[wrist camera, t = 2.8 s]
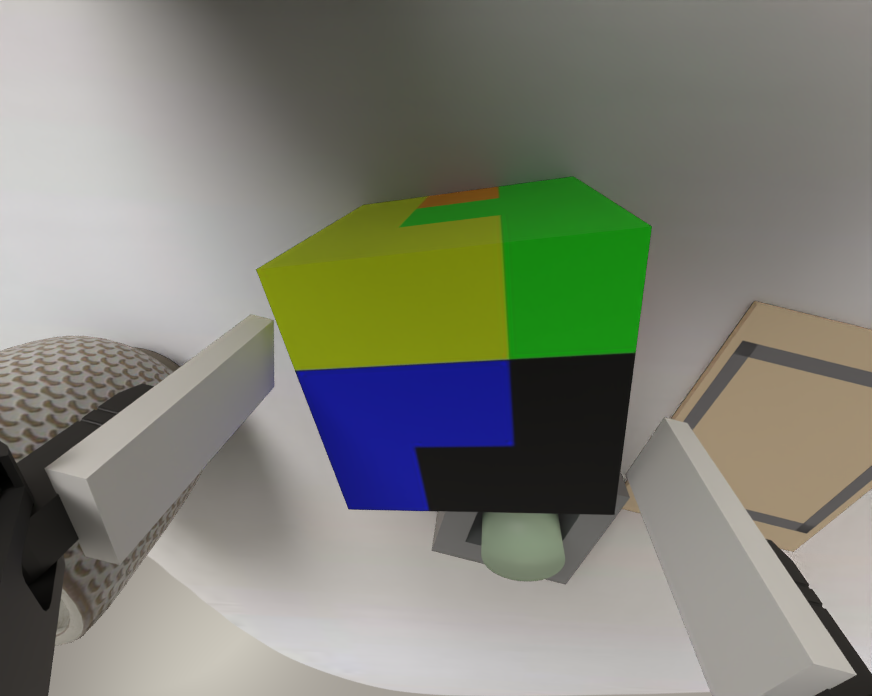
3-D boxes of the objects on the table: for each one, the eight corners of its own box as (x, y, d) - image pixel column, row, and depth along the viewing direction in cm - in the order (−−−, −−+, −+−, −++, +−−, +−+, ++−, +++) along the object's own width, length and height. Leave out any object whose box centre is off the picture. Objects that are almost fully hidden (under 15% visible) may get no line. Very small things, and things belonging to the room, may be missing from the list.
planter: (244, 479, 31) (106, 674, 20) (76, 424, 30) (-163, 594, 19) (257, 343, 24) (54, 529, 13) (38, 267, 23) (-376, 394, 12)
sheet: (754, 300, 19) (758, 303, 18) (1013, 364, 19) (1021, 368, 18) (611, 502, 27) (612, 506, 27) (790, 547, 27) (793, 551, 27)
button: (494, 475, 25) (494, 523, 22) (568, 494, 25) (578, 544, 22) (474, 521, 27) (472, 569, 24) (541, 538, 27) (547, 588, 24)
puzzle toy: (401, 371, 24) (348, 509, 15) (363, 204, 19) (256, 269, 10) (567, 363, 22) (614, 515, 13) (573, 176, 17) (651, 226, 9)
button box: (467, 422, 25) (464, 456, 22) (616, 459, 25) (630, 497, 22) (437, 514, 30) (431, 550, 28) (559, 545, 30) (565, 584, 28)
